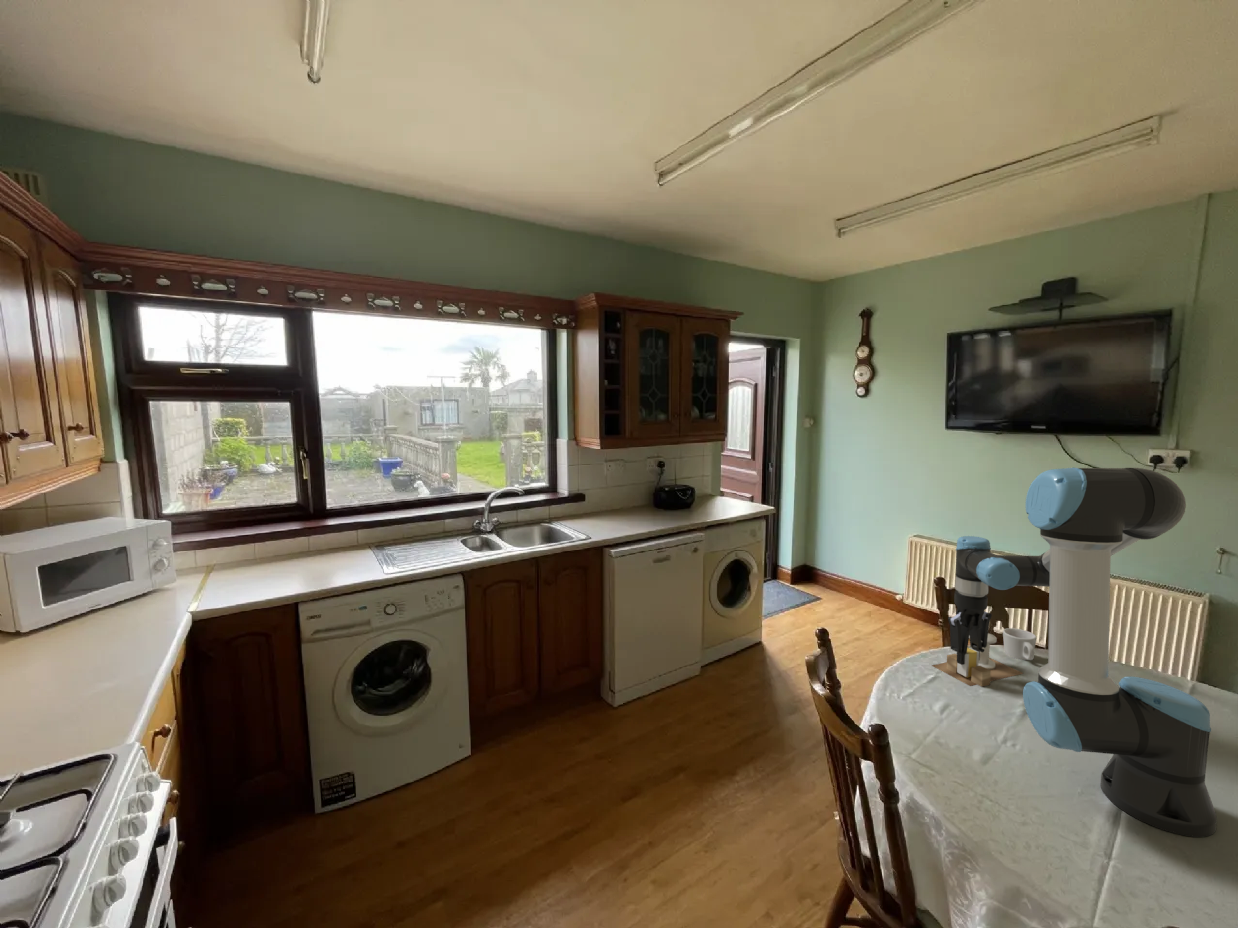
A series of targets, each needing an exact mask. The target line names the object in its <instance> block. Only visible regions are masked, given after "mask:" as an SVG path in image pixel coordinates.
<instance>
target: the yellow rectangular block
mask: <svg viewBox="0 0 1238 928" xmlns="http://www.w3.org/2000/svg"><path fill="white" fill-rule="evenodd" d="M970 648H971V647H968V648H967V653H968V654H969V667H968V677H971V674H972V667H976V659H977V652H976V651H974V650H972V649H970ZM968 677H967V678H968Z"/></svg>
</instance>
